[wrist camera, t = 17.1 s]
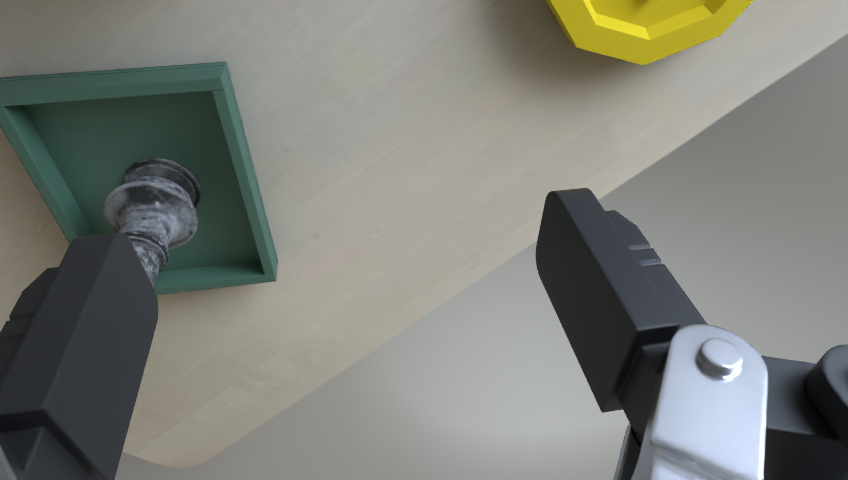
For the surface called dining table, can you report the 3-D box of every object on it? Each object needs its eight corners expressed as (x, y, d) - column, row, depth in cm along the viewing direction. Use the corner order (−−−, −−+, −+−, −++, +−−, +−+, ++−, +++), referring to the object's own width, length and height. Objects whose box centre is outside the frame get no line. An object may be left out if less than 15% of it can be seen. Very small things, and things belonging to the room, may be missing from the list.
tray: (1, 77, 33) (-19, 95, 31) (226, 61, 34) (221, 77, 32) (112, 279, 44) (103, 301, 42) (277, 260, 46) (276, 281, 44)
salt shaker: (164, 232, 41) (123, 355, 32) (98, 180, 38) (31, 303, 29) (222, 195, 40) (196, 313, 31) (161, 139, 36) (111, 253, 27)
